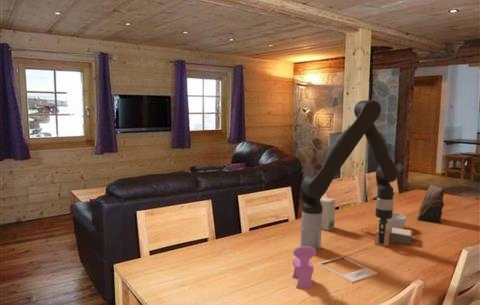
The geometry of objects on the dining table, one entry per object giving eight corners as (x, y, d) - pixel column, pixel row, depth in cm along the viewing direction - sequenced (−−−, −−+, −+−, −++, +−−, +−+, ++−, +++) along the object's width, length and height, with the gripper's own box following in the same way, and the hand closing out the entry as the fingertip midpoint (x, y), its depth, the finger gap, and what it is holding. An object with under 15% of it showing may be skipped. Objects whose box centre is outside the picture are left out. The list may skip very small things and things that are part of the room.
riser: (411, 244, 174) (412, 236, 174) (389, 241, 179) (389, 232, 178) (411, 238, 183) (412, 230, 183) (390, 234, 188) (391, 226, 187)
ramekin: (400, 224, 204) (401, 212, 203) (408, 232, 191) (409, 220, 190) (376, 223, 205) (376, 211, 205) (382, 231, 192) (383, 218, 192)
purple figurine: (310, 276, 141) (312, 239, 139) (316, 288, 132) (318, 248, 130) (289, 276, 140) (290, 239, 138) (293, 288, 132) (294, 248, 130)
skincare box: (328, 231, 192) (329, 202, 189) (316, 228, 195) (317, 199, 193) (334, 227, 198) (336, 198, 196) (323, 224, 202) (324, 196, 200)
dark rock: (424, 215, 222) (427, 183, 219) (447, 220, 213) (450, 186, 210) (416, 219, 213) (419, 186, 211) (439, 225, 204) (443, 190, 202)
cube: (388, 246, 172) (388, 233, 172) (374, 243, 175) (375, 231, 174) (388, 242, 178) (389, 230, 177) (375, 239, 180) (376, 228, 180)
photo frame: (352, 281, 136) (317, 262, 151) (351, 284, 136) (317, 265, 151) (377, 272, 144) (342, 255, 159) (377, 274, 144) (342, 258, 159)
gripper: (391, 212, 166) (389, 247, 168) (393, 204, 179) (391, 237, 181) (374, 210, 169) (372, 244, 171) (377, 202, 182) (375, 235, 184)
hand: (381, 241), depth 176 cm, fingers closed on cube, 6 cm apart
